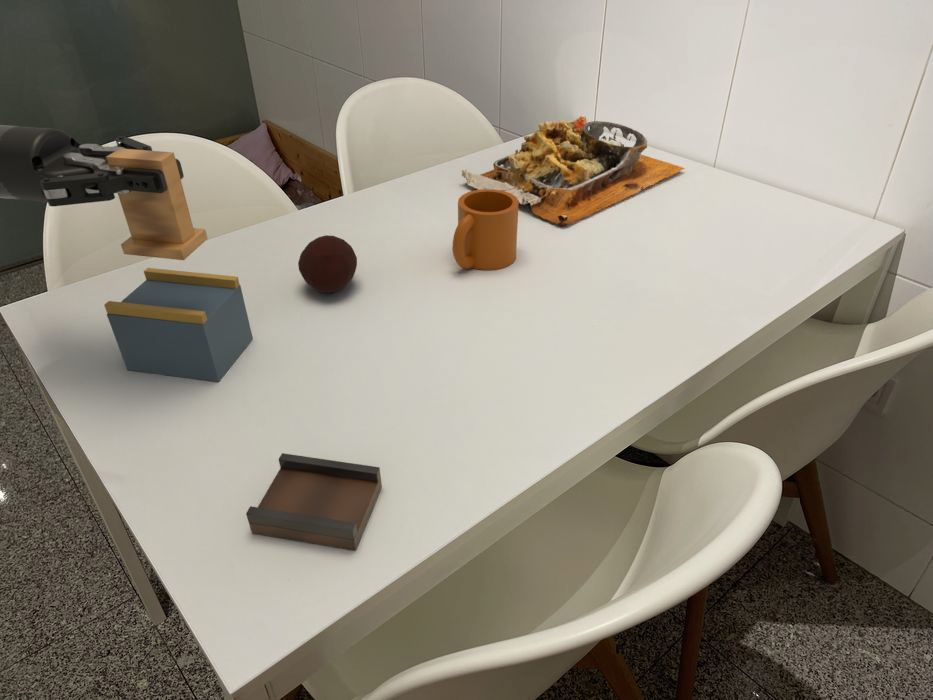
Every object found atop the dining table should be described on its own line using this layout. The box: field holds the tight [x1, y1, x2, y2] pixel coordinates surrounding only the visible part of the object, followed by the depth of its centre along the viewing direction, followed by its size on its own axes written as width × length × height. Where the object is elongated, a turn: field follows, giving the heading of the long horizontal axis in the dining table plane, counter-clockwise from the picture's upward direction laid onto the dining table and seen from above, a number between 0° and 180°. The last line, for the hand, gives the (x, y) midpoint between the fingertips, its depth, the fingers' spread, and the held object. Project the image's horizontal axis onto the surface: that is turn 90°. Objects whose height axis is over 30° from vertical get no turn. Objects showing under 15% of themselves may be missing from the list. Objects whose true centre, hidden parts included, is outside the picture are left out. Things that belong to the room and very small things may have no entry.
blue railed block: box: [104, 267, 254, 383], centre depth 84 cm, size 12×9×9 cm
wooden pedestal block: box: [106, 148, 208, 261], centre depth 72 cm, size 7×5×10 cm
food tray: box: [461, 115, 686, 227], centre depth 127 cm, size 35×26×11 cm
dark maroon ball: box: [297, 235, 358, 294], centre depth 97 cm, size 8×9×8 cm
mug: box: [452, 189, 520, 271], centre depth 102 cm, size 9×12×9 cm
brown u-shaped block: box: [245, 452, 383, 551], centre depth 65 cm, size 10×8×3 cm
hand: (171, 175), depth 70 cm, fingers closed on wooden pedestal block, 2 cm apart
